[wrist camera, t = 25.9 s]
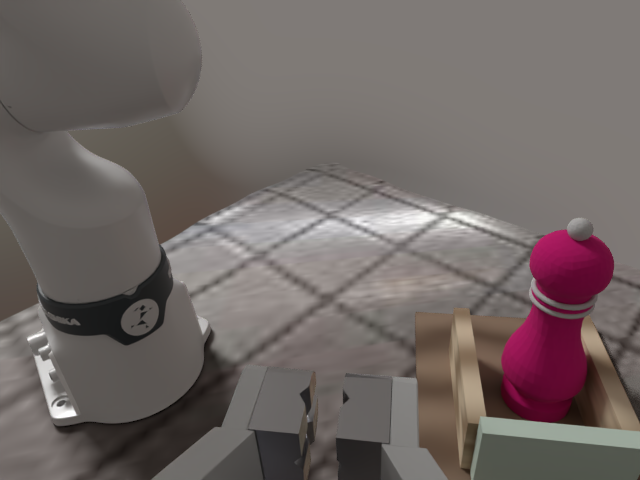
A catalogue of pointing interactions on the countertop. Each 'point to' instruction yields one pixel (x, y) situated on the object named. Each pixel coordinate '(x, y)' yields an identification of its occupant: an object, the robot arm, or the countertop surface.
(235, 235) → the countertop surface
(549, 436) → the gate
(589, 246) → the pepper mill
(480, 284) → the countertop surface
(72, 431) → the countertop surface
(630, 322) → the countertop surface
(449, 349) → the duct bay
